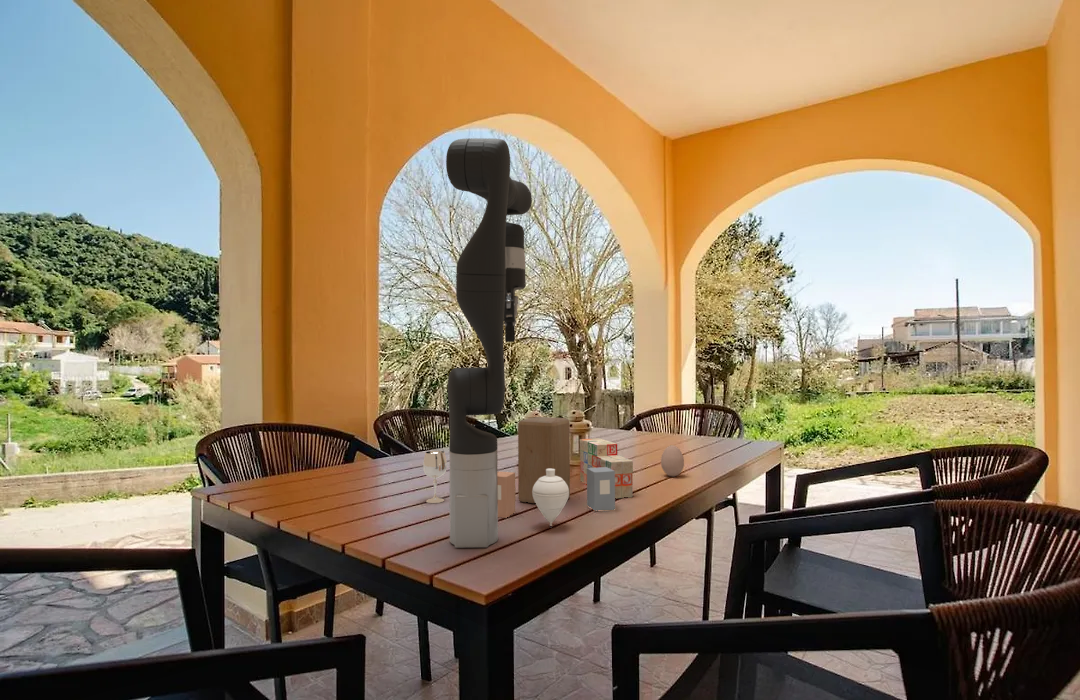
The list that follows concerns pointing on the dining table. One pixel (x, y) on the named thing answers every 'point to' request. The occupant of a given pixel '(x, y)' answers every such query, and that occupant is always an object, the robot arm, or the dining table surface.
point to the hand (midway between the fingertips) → (510, 341)
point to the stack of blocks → (607, 464)
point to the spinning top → (550, 495)
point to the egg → (672, 461)
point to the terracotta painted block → (506, 493)
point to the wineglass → (435, 469)
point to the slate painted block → (601, 488)
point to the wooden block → (542, 452)
